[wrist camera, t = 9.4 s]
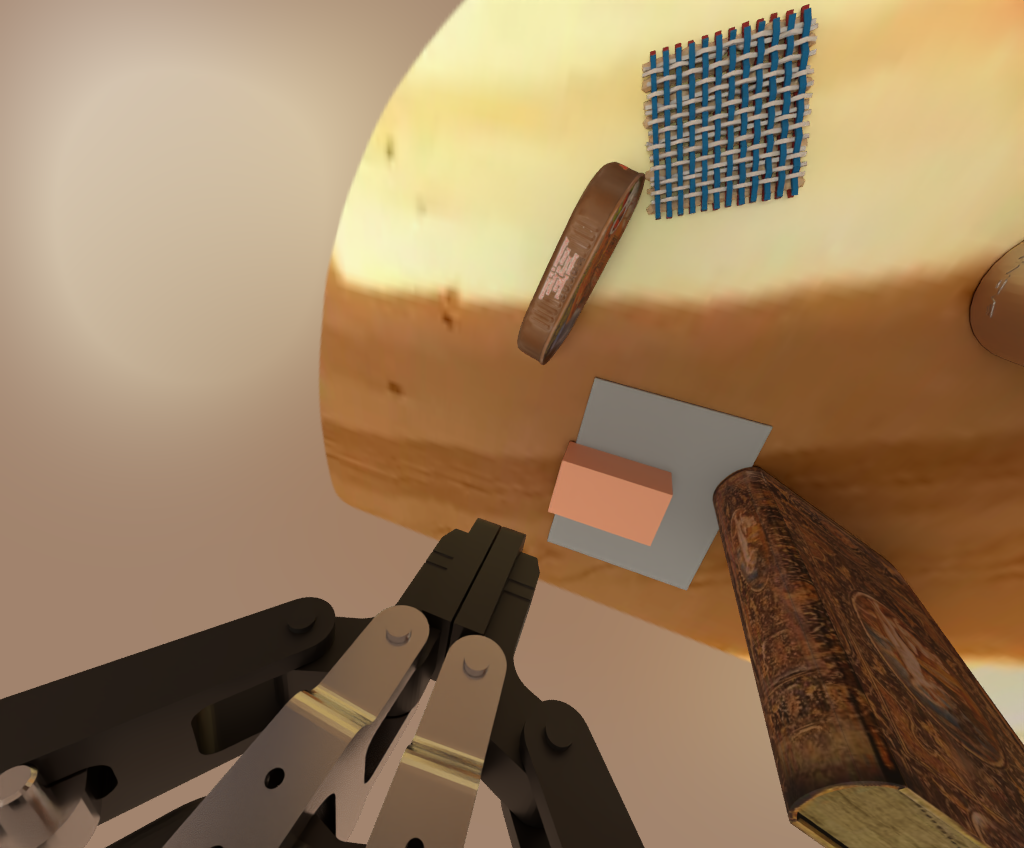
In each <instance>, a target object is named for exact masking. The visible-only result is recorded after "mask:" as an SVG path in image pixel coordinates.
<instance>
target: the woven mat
mask: <svg viewBox="0 0 1024 848" xmlns="http://www.w3.org/2000/svg"><path fill="white" fill-rule="evenodd" d="M793 11H794V9H793V10H789V11H787V12H786V20H780V17H778V18H777V13H774V14H771V17H770V23H768V24H766V25H765V21H764V18H762V19H759V20H757V22H756V30H753V31H751V26H749V21H748V22H745V23H743V24H742V34H739V35H736V31H737V29H735V27H733V28H730V29H729V30H728V38H726V39H722V34H721V31H718V32H716V33H715V42H712V43H709V44H708V41H709V37H708V35H705V36H702V44H695V42H694V41H693V40H691V41H688V47H687V48H685V49H683V50H682V47H681V43H678V44H676V45H675V54H672V55H669V47H665V48H663V57H661V58H658V59H656V51H655V50H654V51H651V52H650V62H648V63H645V64H643V65H642V70H643V72H645V73H643V74H642V77H643V78H644V77H646V76H649V75H651V77H650V78H648V79H646V80H644V81H643V84H642V90H643V91H644V92H645V93H647V92H649V91H651V94H649V95H646V96H647V99H650V98H652V100H649V101H647V102H644V110H650V109H652V110H650V111H645V115H652V117H647V118H646V119H645V120H644V122H643V124H644V126H645V128H646V129H647V128H652V129H653V131H649V132H648V136H650V137H649V142H647V143H646V146H647V151H650V150H653V154H652V155H650V157H649V158H650V163H651V162H654V167H651V168H650V171H647V172H646V175H645V179H647V180H648V181H650V182H652V181H654V183H650V184H651V187H653V186H654V188H651V189H647V194H651V196H654V195H655V200H652V201H651V204H650V206H649V207H648V208H647V209H646V210H647V212H648V214H656V220H657V219H661V212H665V211H666V212H667V219H668V218H672V210H677V209H678V216H680V215H683V208H689V214H691V213H695V206H700V205H701V212H702V211H707V204H711V203H712V206H713V210H717V209H719V208H720V202H723V201H725V207H730V206H731V203H732V200H734V199H737V206H738V205H743V204H745V197H749V203H753V202H756V199H757V195H762V201H767V200H770V196H771V193H773V192H775V199H778V198H781V197H782V196H783V191H784V190H787V196H788V198H790V197H793V196H794V195H798V187H803V184H804V182H805V179H804V178H803V177H802V176H804V174H805V171H804V172H799V170H800V167H803V166H807V161H806V162H802V163H800V157H803V156H806V153H807V151H806V152H800V151H804V150H805V149H806V146H807V139H806V138H809V133H808V134H804V135H803V133H802V127H803V126H809V125H810V124H809V121H807V122H802V120H803V116H805V115H808V114H811V109H810V110H808V109H809V98H810V97H812V94H813V93H805V90H809V88H810V87H811V85H813V84H814V80H812V78H811V77H806V75H807V74H812V73H814V69H810V65H807V61H808V57H809V56H812V55H814V54H816V50H817V49H815V50H812V51H810V52H809V47H810V46H812V45H813V44H815V43H816V39H817V36H816V35H815V34H813V33H810V31H811V30H814V29H816V28H818V23H817V24H816V18H815V19H812V15H811V8H809V4H808V5H805V6H803V7H802V8H801V17H797V18H796V13H793ZM813 24H814V25H813ZM811 25H812V26H811ZM809 33H810V34H809ZM797 34H799V39H798V40H795V41H794V35H797ZM782 38H785V39H784V44H780V45H778V43H779V40H780V39H782ZM766 43H769V48H766V49H765V44H766ZM751 47H755V52H751V53H750V48H751ZM736 49H737V50H742V54H736ZM726 52H728V55H727V57H725V58H723V59H722V56H723V55H724V54H725V53H726ZM795 52H798V54H797V55H792V53H795ZM780 56H783V58H782V59H779V57H780ZM695 58H697V59H695ZM711 59H714V63H712V64H709V60H711ZM687 60H688V61H687ZM766 60H769V63H763V61H766ZM793 60H798V62H795V63H792V61H793ZM700 62H702V66H701V67H697V68H695V64H697V63H700ZM751 64H754V66H753V67H750V65H751ZM780 64H783V65H782V66H778V65H780ZM682 66H688V70H686V71H683V72H682ZM740 67H741V70H735V68H740ZM675 68H676V74H672V75H669V71H670V70H672V69H675ZM725 70H727V71H726V74H724V75H722V72H723V71H725ZM662 72H663V76H657V73H662ZM792 73H794V74H792ZM711 75H714V77H708V76H711ZM737 75H741V76H738V77H735V76H737ZM780 76H782V77H780ZM777 77H780V78H777ZM699 78H702V80H700V81H697V82H695V80H696V79H699ZM726 78H727V79H726ZM776 78H777V79H776ZM793 78H795V80H793V81H791V79H793ZM723 79H726V80H723ZM722 80H723V81H722ZM765 80H768V81H765ZM763 81H765V82H763ZM685 82H688V84H686V85H682V83H685ZM708 82H714V83H711V84H708ZM780 82H782V85H780V86H776V83H780ZM752 83H753V85H752V86H750V87H748V85H750V84H752ZM701 84H702V86H700V87H697V86H699V85H701ZM673 85H676V86H675V87H673V88H670V86H673ZM766 86H767V89H764V90H762V87H766ZM695 87H696V88H695ZM740 87H741V90H739V89H736V88H740ZM662 88H664V90H662V91H657V89H662ZM724 91H727V92H725V93H722V94H721V92H724ZM750 91H753V92H752V93H749V92H750ZM792 93H793V97H791V94H792ZM713 94H714V95H713ZM739 94H740V96H736V97H734V96H735V95H739ZM661 95H664V97H660V98H657V96H661ZM709 95H712V96H709ZM723 97H727V98H723ZM778 97H781V100H776V98H778ZM804 98H808V99H804ZM712 100H713V101H712ZM766 100H767V103H765V104H763V105H762V101H766ZM682 101H684V102H682ZM708 101H710V102H708ZM793 101H794V102H793ZM697 102H701V105H700V106H696V107H695V103H697ZM791 102H792V103H791ZM675 103H676V104H675ZM749 104H753V107H748V105H749ZM686 105H688V109H684V110H682V107H683V106H686ZM775 105H779V106H775ZM737 107H739V110H736V111H735V108H737ZM764 108H766V109H764ZM670 109H676V112H672V113H670ZM761 109H763V110H761ZM725 110H727V113H723V114H721V111H725ZM804 110H807V111H804ZM662 111H664V115H660V116H658V113H660V112H662ZM712 112H713V116H711V117H708V115H709V114H710V113H712ZM791 113H793V114H791ZM700 116H701V119H700V120H695V118H696V117H700ZM778 116H779V117H778ZM775 117H776V118H775ZM721 118H724V119H721ZM789 118H794V120H793V121H788V119H789ZM687 119H688V122H686V123H683V122H682V121H683V120H687ZM765 119H766V120H765ZM713 120H714V121H713ZM760 120H765V121H760ZM710 121H712V122H710ZM675 122H676V125H673V126H670V123H675ZM775 122H778V123H777V124H775V125H774V123H775ZM747 123H751V124H747ZM695 124H699V125H695ZM662 125H664V128H661V129H658V126H662ZM738 125H739V127H736V128H734V127H735V126H738ZM762 125H765V128H763V129H761V126H762ZM687 126H689V127H687ZM684 127H686V128H684ZM749 128H752V131H750V132H747V129H749ZM723 129H726V130H723ZM721 130H723V131H721ZM737 131H739V134H736V135H734V132H737ZM710 132H712V133H710ZM788 133H793V137H790V138H787V134H788ZM697 135H698V136H697ZM720 135H726V137H723V138H720ZM774 136H777V140H776V141H774ZM688 137H689V138H688ZM710 137H713V139H710V140H708V138H710ZM700 139H701V141H699V142H696V143H695V140H700ZM762 139H765V142H764V143H762V144H759V142H760V140H762ZM670 141H672V142H670ZM684 142H689V145H688V146H684V147H683V143H684ZM748 142H752V146H749V147H747V143H748ZM675 144H677V148H676V149H672V150H671V146H672V145H675ZM734 145H739V149H733V146H734ZM663 147H665V151H664V152H660V153H659V148H663ZM725 147H726V149H725V152H721V150H720V148H725ZM711 150H713V154H712V155H707V154H708V151H711ZM700 152H701V157H698V158H695V154H697V153H700ZM788 153H791V154H790V155H787V154H788ZM687 155H689V160H683V156H687ZM772 156H777V157H776V158H771V157H772ZM672 158H677V162H674V163H671V159H672ZM762 158H763V160H762V161H759V159H762ZM787 159H789V160H787ZM662 160H665V165H659V161H662ZM748 161H751V163H749V164H745V162H748ZM734 164H738V166H734V167H733V165H734ZM723 166H725V168H723V169H720V167H723ZM712 168H713V171H708V169H712ZM789 169H790V171H789V174H788V175H786V174H785V170H789ZM700 171H701V173H697V174H695V172H700ZM775 172H776V177H773V178H771V176H772V173H775ZM687 174H689V175H687ZM683 175H687V176H683ZM708 175H710V176H708ZM759 175H762V180H759V179H758V176H759ZM675 177H677V178H675ZM746 178H750V182H746V183H745V180H746ZM785 179H786V180H785ZM660 180H663V181H660ZM735 180H738V184H736V185H733V182H732V181H735ZM774 181H776V182H774ZM673 182H676V183H673ZM724 182H725V187H720V183H724ZM771 182H773V183H771ZM663 184H666V185H663ZM759 184H762V185H759ZM660 185H661V186H660ZM709 185H713V189H710V190H708V187H707V186H709ZM747 186H750V187H747ZM699 187H701V191H699V192H695V188H699ZM745 187H746V188H745ZM685 189H689V193H688V194H684V195H683V190H685ZM733 189H736V190H733ZM675 191H678V196H673V197H672V192H675ZM721 191H724V192H721ZM664 193H666V198H663V199H660V194H664ZM700 195H701V196H700ZM695 196H698V197H695ZM684 198H687V199H684ZM673 200H677V201H673ZM662 202H666V203H662ZM660 203H661V204H660Z"/></svg>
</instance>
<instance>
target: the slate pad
mask: <svg viewBox="0 0 1024 848" xmlns="http://www.w3.org/2000/svg"><path fill="white" fill-rule="evenodd" d="M772 428H773V427H772V426H770V425H766V424H762V423H759V422H755V421H752V420H748V419H744V418H741V417H737V416H734V415H730V414H726V413H723V412H719V411H716V410H712V409H708V408H705V407H701V406H698V405H694V404H690V403H687V402H683V401H680V400H676V399H672V398H669V397H665V396H662V395H658V394H654V393H651V392H647V391H644V390H640V389H636V388H633V387H629V386H626V385H622V384H618V383H615V382H611V381H608V380H604V379H600V378H597V377H595V380H594V383H593V387H592V390H591V393H590V397H589V400H588V404H587V407H586V410H585V414H584V417H583V421H582V424H581V427H580V431H579V434H578V438H577V441H576V443H577V444H580V445H584V446H587V447H590V448H593V449H597V450H600V451H603V452H606V453H610V454H613V455H616V456H619V457H623V458H626V459H629V460H632V461H636V462H639V463H642V464H645V465H648V466H652V467H655V468H658V469H661V470H665V471H668V472H671V474H672V490H673V496H672V499H671V501H670V503H669V505H668V508H667V510H666V512H665V514H664V517H663V519H662V521H661V523H660V526H659V528H658V530H657V532H656V535H655V537H654V539H653V541H652V544H651V546H647V545H644V544H642V543H639V542H636V541H633V540H630V539H627V538H624V537H621V536H618V535H615V534H612V533H609V532H606V531H604V530H601V529H598V528H595V527H592V526H589V525H586V524H583V523H580V522H577V521H574V520H571V519H568V518H566V517H563V516H560V515H557V514H555V516H554V520H553V523H552V526H551V530H550V533H549V537H548V540H547V541H549V542H551V543H554V544H557V545H560V546H563V547H566V548H568V549H571V550H574V551H577V552H580V553H582V554H585V555H588V556H591V557H594V558H597V559H599V560H602V561H605V562H608V563H611V564H614V565H616V566H619V567H622V568H625V569H628V570H630V571H633V572H636V573H639V574H642V575H645V576H647V577H650V578H653V579H656V580H659V581H662V582H664V583H667V584H670V585H673V586H676V587H678V588H681V589H684V590H687V588H688V586H689V585H690V583H691V581H692V579H693V577H694V575H695V573H696V571H697V569H698V568H699V566H700V564H701V562H702V560H703V558H704V556H705V554H706V552H707V551H708V549H709V547H710V545H711V543H712V541H713V539H714V537H715V535H716V534H717V532H718V530H719V526H718V522H717V517H716V513H715V509H714V505H713V493H714V491H715V489H716V487H717V486H718V485H719V484H720V482H721V481H722V480H724V479H725V478H726V477H727V476H729V475H730V474H732V473H733V472H735V471H737V470H740V469H743V468H747V467H752V465H753V464H754V462H755V460H756V458H757V456H758V454H759V452H760V450H761V448H762V447H763V445H764V443H765V441H766V439H767V437H768V435H769V433H770V431H771V430H772Z"/></svg>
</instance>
